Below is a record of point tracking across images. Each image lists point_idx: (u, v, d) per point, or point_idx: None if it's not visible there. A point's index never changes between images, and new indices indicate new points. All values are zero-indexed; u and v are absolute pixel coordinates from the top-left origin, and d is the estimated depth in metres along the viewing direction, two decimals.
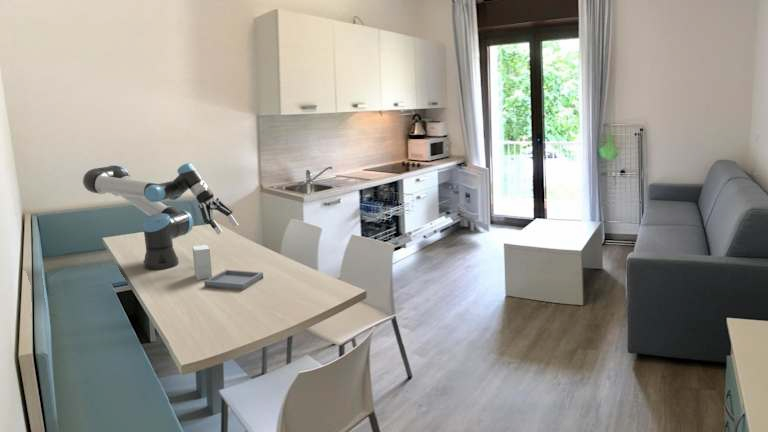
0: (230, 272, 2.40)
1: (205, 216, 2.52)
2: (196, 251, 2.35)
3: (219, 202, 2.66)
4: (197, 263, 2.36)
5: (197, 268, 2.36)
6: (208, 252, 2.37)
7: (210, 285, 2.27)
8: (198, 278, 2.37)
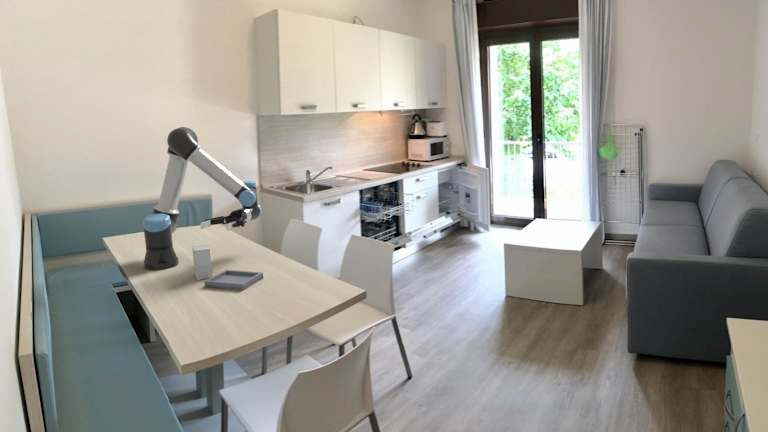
0: (230, 272, 2.40)
1: (244, 223, 2.54)
2: (196, 251, 2.35)
3: None
4: (197, 263, 2.36)
5: (197, 268, 2.36)
6: (208, 252, 2.37)
7: (210, 285, 2.27)
8: (198, 278, 2.37)
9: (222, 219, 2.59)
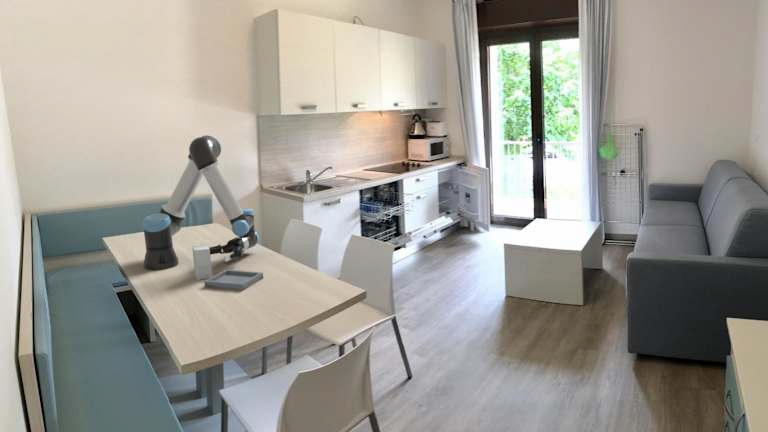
0: (230, 272, 2.40)
1: (241, 254, 2.52)
2: (196, 251, 2.35)
3: None
4: (197, 263, 2.36)
5: (197, 268, 2.36)
6: (208, 252, 2.37)
7: (210, 285, 2.27)
8: (198, 278, 2.37)
9: (219, 248, 2.57)
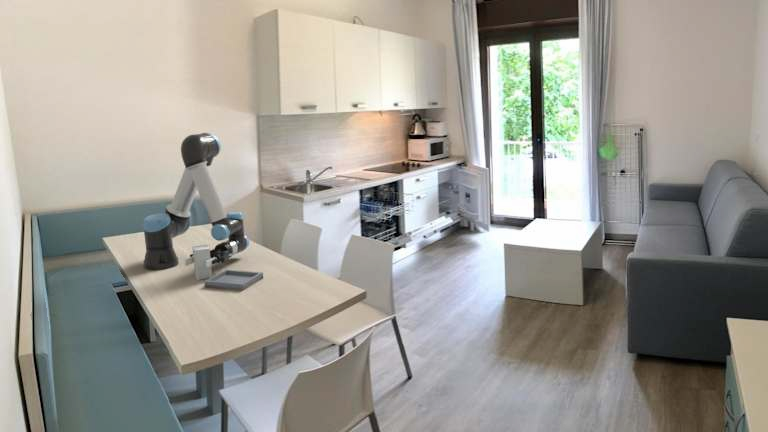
0: (230, 272, 2.40)
1: (225, 259, 2.43)
2: (196, 251, 2.35)
3: None
4: (197, 263, 2.36)
5: (197, 268, 2.36)
6: (208, 252, 2.37)
7: (210, 285, 2.27)
8: (198, 278, 2.37)
9: None
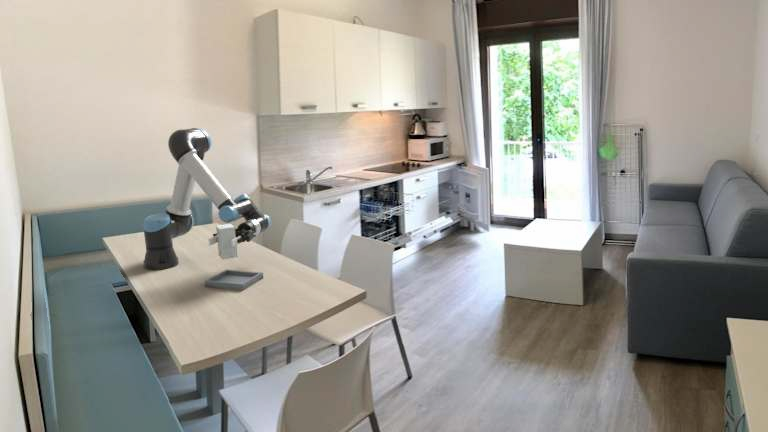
0: (230, 272, 2.40)
1: (250, 238, 2.34)
2: (221, 230, 2.25)
3: None
4: (222, 242, 2.27)
5: (222, 247, 2.27)
6: (233, 231, 2.28)
7: (210, 285, 2.27)
8: (223, 258, 2.28)
9: None
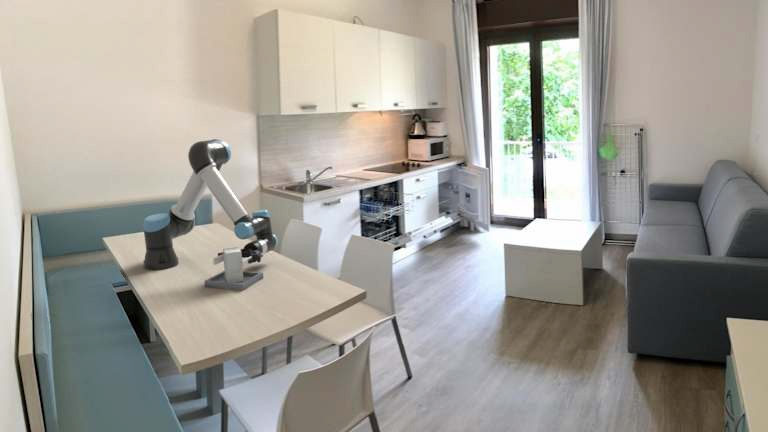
0: None
1: (260, 258, 2.34)
2: (227, 254, 2.25)
3: None
4: (228, 266, 2.26)
5: (228, 271, 2.27)
6: (240, 255, 2.28)
7: (210, 285, 2.27)
8: None
9: None
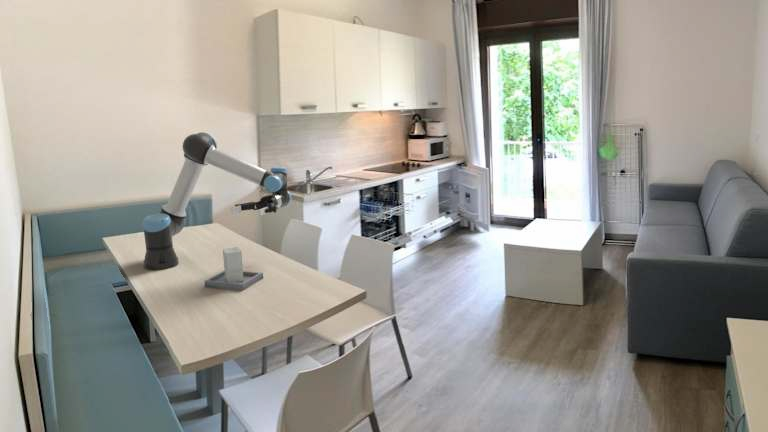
0: None
1: None
2: (227, 254, 2.25)
3: None
4: (228, 266, 2.26)
5: (228, 271, 2.27)
6: (240, 255, 2.28)
7: (210, 285, 2.27)
8: None
9: (253, 205, 2.50)
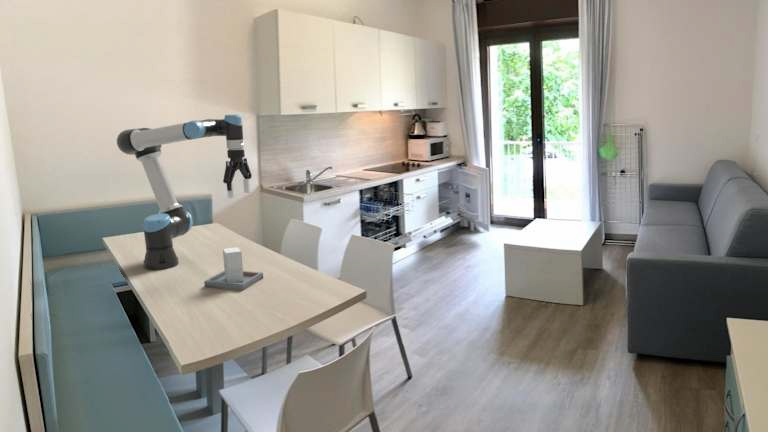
0: None
1: (227, 177, 2.46)
2: (227, 254, 2.25)
3: (245, 163, 2.59)
4: (228, 266, 2.26)
5: (228, 271, 2.27)
6: (240, 255, 2.28)
7: (210, 285, 2.27)
8: None
9: (239, 169, 2.58)
